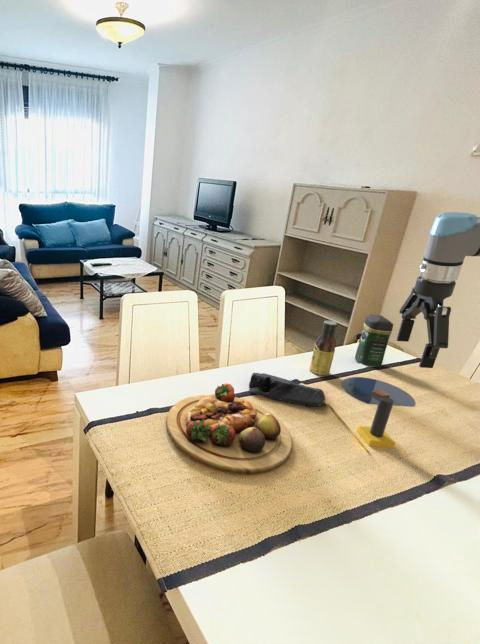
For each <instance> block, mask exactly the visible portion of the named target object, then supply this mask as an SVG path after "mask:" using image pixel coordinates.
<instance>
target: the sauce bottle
mask: <svg viewBox="0 0 480 644" xmlns="http://www.w3.org/2000/svg"><path fill="white" fill-rule="evenodd" d="M337 327H338V323H337V322H336V321H334V320H324V321H323V323H322V330H321V334H319V336H318V337H317V339H316V340H315V342H314V347H313V351H312V355H311V360H310V361H311V362H310V364H309V372H310V373H312V374H313V375H315V376H319V377H327V376H329V374H330V371H331V368H332V364H333V360H334V356H335V351H336V346H337V341H336V338H335V332H336V329H337Z"/></svg>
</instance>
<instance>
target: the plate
mask: <svg viewBox="0 0 480 644" xmlns="http://www.w3.org/2000/svg"><path fill="white" fill-rule="evenodd" d="M340 382H341V383H340V384H341V385H340V386H341V388H342V389H343V391H344V392H345V393H347V395H349V396H351V397H352V398H354V399H355V400H358V401H359V402H362V403H364V404H367V405H377V406H378V404H379V400H380V398H379V397H377V396H375V395H374V394H372V392H373V391H376V390H382V391H384V392H385V393H387V394H389V395H390V396H389V398H390V399H392V400H393V401H394V403H393V406H392V407H409V408H414V407H415V406H416V401H415V399H414V398H413V396H412V395H411V394H410V393H408V392H407V391H405V390H403V389H402V388H400V387H398V386H396V385H394V384H392V383H388V382H386V381H382V380H379V379H375V378H370V377H361V376H351V377H346V378H343V380H341V381H340Z"/></svg>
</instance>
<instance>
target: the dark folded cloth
mask: <svg viewBox="0 0 480 644" xmlns="http://www.w3.org/2000/svg"><path fill="white" fill-rule="evenodd" d="M248 388H249V389H248V390H249V391H248V392H249V393H250V394H252V395H254V396H256V395H257V396H261V397H263V398H267V399H272V400H275V401H284V402H287V403H290V404H296V405H301V406H306V407H308V406H309V407H310V406H313V407H315V406H316V407H321V406H322V405H324V402H325V399H326V398H325V397H326V395H325V393H324V391H323V389H322V388H318V387H317V388H316V387H311V386H307V385H304V384H300V383H297V382H295V381H293V380H290V379H289V380H288V379H286V378H283V377H280V376H276V375H271V374H268V373H263V372H262V373H260V372H252V374H251V376H250V379H249V383H248ZM264 389H266V390H268V392H264Z"/></svg>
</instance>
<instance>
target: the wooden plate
mask: <svg viewBox="0 0 480 644" xmlns="http://www.w3.org/2000/svg"><path fill="white" fill-rule="evenodd" d="M214 390H215V391H214V393H205V394H196V395H191V396H188V397H186V398H184V399H181V400H179V401H178V402H176V403H175V404H174V405H173V406H172V407H170V409H169V411H168V413H167V415H166V419H165V428H166V431H167V434H168V436H169V438H170V439H171V441H172V443H173V444H174V445H175V446H176V447H177V448H178V449H179V450H180V451H181V452H182V453H183V454H184V455H186V456H187V457H189V458H190V459H192V460H193V461H195V462H197V463H199V464H201V465H204V466H206V467H208V468H211V469H213V470H216V471H220V472H224V473H229V474H235V475H245V476H246V475H247V476H249V475H262V474H266V473H269V472H272V471H274V470H276V469H278V468H280V467H282V466H283V465H284V464H285V463H286V462H287V461H288V460H289V458H290V456H291V454H292V452H293V439H292V436H291V433H290V431H289V429H288V428H287V426H286V425H285V424H284V423H283V421H282V420H280V419H279V418H278V416H276V415H275V414H273V413H272V412H271V411H269V410H268V409H266V408H265V407H263V406H261V405H259V404H257V403H255V402H252V401H249V400H246V399H244V398H240V397H236V395H235V387H233V385H232V384H231V383H228V382H227V383H226V382H225V383H222V384H221V385H220V386H219V385H217V386H216V388H215V389H214Z"/></svg>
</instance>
